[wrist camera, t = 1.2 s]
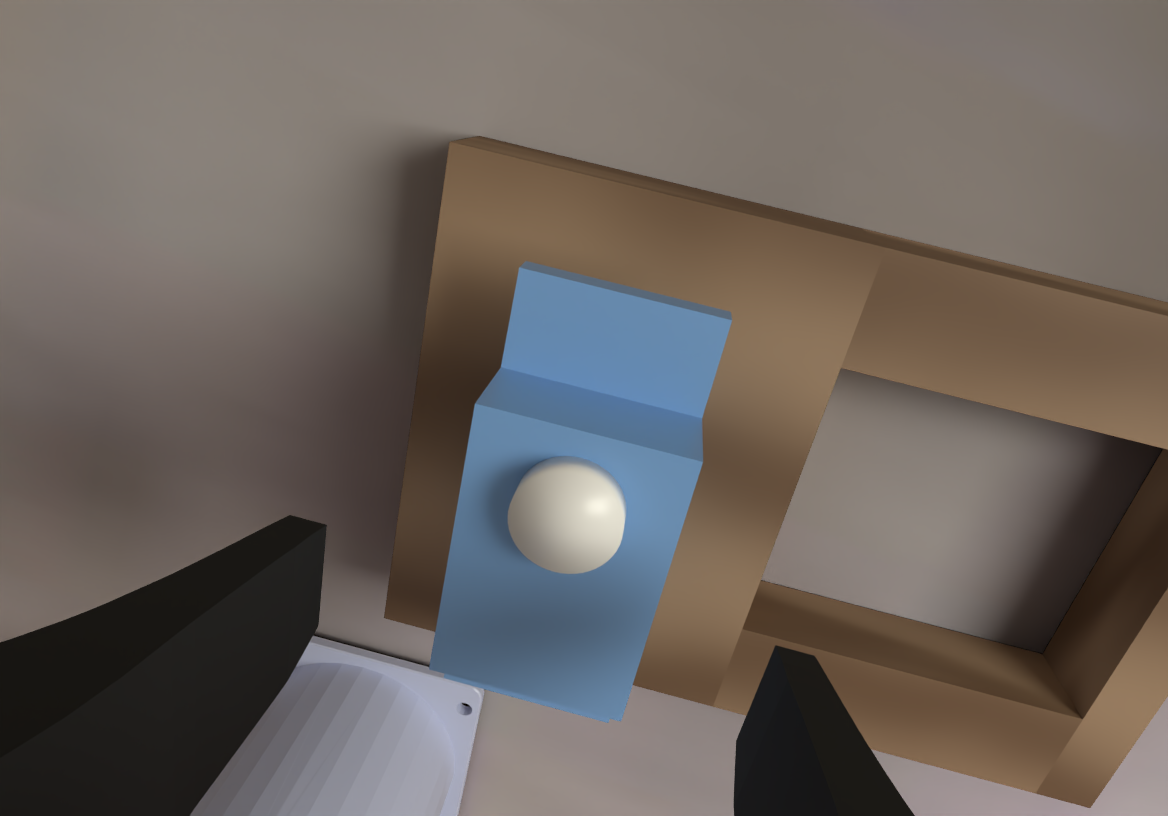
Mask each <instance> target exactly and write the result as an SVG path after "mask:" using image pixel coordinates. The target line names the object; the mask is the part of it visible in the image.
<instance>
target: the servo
mask: <svg viewBox="0 0 1168 816" xmlns="http://www.w3.org/2000/svg"><path fill="white" fill-rule="evenodd" d="M731 323H732V316H731V312H730V311H726V310H722V309H718V308H714V307H710V306H706V305H702V304H698V303H694V302H690V301H685V300H681V299H677V298H673V297H669V296H665V295H661V294H657V293H653V292H649V291H645V290H641V289H637V288H633V287H629V286H625V285H621V284H617V283H613V282H609V281H605V280H601V279H597V278H593V277H589V276H585V275H581V274H577V273H573V272H569V271H565V270H561V269H557V268H552V267H548V266H544V265H540V264H536V263H532V262H528V261H525V262H524V263H523V264H522V265H521V266H520V267H519V272H518V277H517V283H516V288H515V293H514V299H513V304H512V310H511V315H510V321H509V326H508V331H507V337H506V342H505V348H504V353H503V359H502V364H501V368H500V369H499V371H498V372H497V373H496V375H495V376H494V378H493V379H492V380H491V382H490V383H489V385H488V386H487V387H486V389H485V390H484V392H483V393H482V394H481V396H480V397H479V399H478V400H477V401H476V403H475V406H474V412H473V418H472V424H471V430H470V435H469V441H468V447H467V453H466V458H465V464H464V470H463V476H462V481H461V487H460V493H459V499H458V505H457V510H456V516H455V522H454V528H453V533H452V539H451V545H450V551H449V556H448V562H447V568H446V574H445V580H444V585H443V591H442V597H441V603H440V608H439V614H438V620H437V626H436V631H435V637H434V643H433V649H432V655H431V660H430V666H429V670H433V671H437V672H440V673H444V678H445V679H449V680H452V681H456V682H460V683H463V684H467V685H471V686H474V687H478V688H482V689H485V690H489V691H493V692H497V693H500V694H504V695H508V696H511V697H515V698H519V699H522V700H526V701H530V702H533V703H537V704H541V705H544V706H548V707H552V708H555V709H559V710H563V711H566V712H570V713H574V714H578V715H581V716H585V717H589V718H592V719H596V720H600V721H603V722H607V723H608V722H609V719H613V720H617V721H621V720H622V717H623V714H624V710H625V707H626V704H627V701H628V698H629V695H630V691H631V688H632V685H633V682H634V679H635V676H636V672H637V669H638V666H639V663H640V660H641V657H642V653H643V650H644V647H645V644H646V641H647V638H648V635H649V631H650V628H651V625H652V622H653V619H654V616H655V612H656V609H657V606H658V603H659V600H660V597H661V593H662V590H663V587H664V584H665V581H666V578H667V574H668V571H669V568H670V565H671V562H672V559H673V555H674V552H675V549H676V546H677V543H678V540H679V537H680V533H681V530H682V527H683V524H684V521H685V518H686V514H687V511H688V508H689V505H690V502H691V499H692V495H693V492H694V489H695V486H696V483H697V480H698V476H699V473H700V470H701V467H702V464H703V436H702V417H703V414H704V410H705V407H706V404H707V401H708V397H709V394H710V391H711V388H712V384H713V381H714V378H715V375H716V371H717V368H718V365H719V362H720V358H721V355H722V352H723V349H724V345H725V342H726V339H727V336H728V332H729V329H730V326H731Z"/></svg>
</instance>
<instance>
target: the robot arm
mask: <svg viewBox="0 0 1168 816" xmlns="http://www.w3.org/2000/svg"><path fill="white" fill-rule="evenodd" d="M326 527H327V525H325V524H321V523H317V522H314V521H310V520H306V519H302V518H299V517H295V516H291V515H289V516H287V517H285V518H283V519H281V520H279V521H277V522H275V523H273V524H271V525H269V526H267V527H265V528H263V529H261V530H259V531H257V532H255V533H253V534H251V535H249V536H247V537H245V538H243V539H241V540H239V541H238V542H236V543H234V544H232V545H230V546H228V547H226V548H224V549H222V550H220V551H218V552H216V553H214V554H212V555H210V556H208V557H206V558H204V559H202V560H200V561H198V562H196V563H194V564H192V565H190V566H188V567H185V568H183V569H181V570H179V571H177V572H175V573H173V574H171V575H169V576H167V577H165V578H162V579H160V580H158V581H156V582H153V583H151V584H149V585H147V586H144V587H142V588H140V589H138V590H135V591H133V592H131V593H129V594H126V595H124V596H122V597H120V598H117V599H115V600H113V601H110V602H108V603H106V604H104V605H101V606H99V607H96V608H94V609H92V610H89V611H87V612H84V613H81V614H79V615H76V616H74V617H71V618H69V619H66V620H63V621H61V622H58V623H55V624H52V625H49V626H47V627H44V628H41V629H38V630H36V631H33V632H30V633H27V634H24V635H22V636H19V637H16V638H13V639H10V640H7V641H4V642H0V816H458V813H459V809H460V804H461V799H462V795H463V790H464V786H465V781H466V776H467V772H468V767H469V762H470V758H471V753H472V748H473V744H474V739H475V734H476V730H477V725H478V720H479V716H480V711H481V706H482V702H483V697H484V689H482V688H478V687H474V686H471V685H467V684H463V683H460V682H456V681H452V680H449V679H445V678H444V673H440V672H437V671H433V670H429V667H427V666H423V665H420V664H416V663H412V662H408V661H405V660H401V659H397V658H394V657H390V656H386V655H383V654H379V653H375V652H372V651H368V650H364V649H361V648H357V647H353V646H349V645H346V644H342V643H338V642H335V641H331V640H327V639H324V638H320V637H316V636H313V635H314V633H315V631H316V629H317V627H318V623H319V611H320V599H321V587H322V575H323V563H324V551H325V539H326ZM462 703H466V704H468V705H470V707H469V706H465V705H463V704H462ZM734 816H915V815H914V814H913V813H912V811H911V810H910V808H909V807H908V806H907V804H906V803H905V801H904V800H903V798H902V797H901V795H900V794H899V792H898V791H897V789H896V788H895V786H894V785H893V783H892V782H891V780H890V779H889V777H888V776H887V774H886V773H885V771H884V770H883V768H882V766H881V765H880V763H879V762H878V760H877V759H876V757H875V755H874V754H873V752H872V751H871V749H870V747H869V746H868V744H867V743H866V741H865V739H864V738H863V736H862V734H861V733H860V731H859V730H858V728H857V726H856V725H855V723H854V721H853V719H852V718H851V716H850V714H849V713H848V711H847V709H846V708H845V706H844V704H843V703H842V701H841V699H840V697H839V696H838V694H837V692H836V691H835V689H834V687H833V686H832V684H831V682H830V680H829V679H828V677H827V675H826V674H825V672H824V670H823V668H822V667H821V665H820V663H819V662H818V660H817V658H816V657H815V656H814V655H810V654H807V653H803V652H799V651H796V650H792V649H788V648H784V647H781V646H777V645H775V647H774V650H773V652H772V655H771V657H770V660H769V662H768V665H767V667H766V669H765V672H764V674H763V677H762V679H761V682H760V684H759V687H758V689H757V691H756V694H755V696H754V699H753V701H752V704H751V706H750V709H749V711H748V713H747V716H746V718H745V721H744V723H743V726H742V728H741V730H740V733H739V735H738V738H737V740H736V759H735V781H734Z"/></svg>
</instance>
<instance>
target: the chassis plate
mask: <svg viewBox="0 0 1168 816" xmlns="http://www.w3.org/2000/svg"><path fill="white" fill-rule="evenodd" d="M525 261H528V262H532V263H536V264H540V265H544V266H548V267H552V268H557V269H561V270H565V271H569V272H573V273H577V274H581V275H585V276H589V277H593V278H597V279H601V280H605V281H609V282H613V283H617V284H621V285H625V286H629V287H633V288H637V289H641V290H645V291H649V292H653V293H657V294H661V295H665V296H669V297H673V298H677V299H681V300H685V301H690V302H694V303H698V304H702V305H706V306H710V307H714V308H718V309H722V310H726V311H730V312H731V316H732V323H731V326H730V329H729V332H728V336H727V339H726V342H725V345H724V349H723V352H722V355H721V358H720V362H719V365H718V368H717V371H716V375H715V378H714V381H713V384H712V388H711V391H710V394H709V397H708V401H707V404H706V407H705V410H704V414H703V417H702V436H703V464H702V467H701V470H700V473H699V476H698V480H697V483H696V486H695V489H694V492H693V495H692V499H691V502H690V505H689V508H688V511H687V514H686V518H685V521H684V524H683V527H682V530H681V533H680V537H679V540H678V543H677V546H676V549H675V552H674V555H673V559H672V562H671V565H670V568H669V571H668V574H667V578H666V581H665V584H664V587H663V590H662V593H661V597H660V600H659V603H658V606H657V609H656V612H655V616H654V619H653V622H652V625H651V628H650V631H649V635H648V638H647V641H646V644H645V647H644V650H643V653H642V657H641V660H640V663H639V666H638V669H637V672H636V676H635V679H634V682H633V685H635V686H639V687H642V688H646V689H650V690H654V691H657V692H661V693H665V694H668V695H672V696H676V697H680V698H683V699H687V700H691V701H694V702H698V703H702V704H706V705H709V706H713V707H717V708H720V709H724V710H728V711H732V712H735V713H739V714H743V715H746V716H747V713H748V711H749V709H750V706H751V704H752V701H753V699H754V696H755V694H756V691H757V689H758V687H759V684H760V682H761V679H762V677H763V674H764V672H765V669H766V667H767V665H768V662H769V660H770V657H771V655H772V652H773V650H774V647H775V645H777V646H781V647H784V648H788V649H792V650H796V651H799V652H803V653H807V654H810V655H814V656H815V657H816V658H817V660H818V662H819V663H820V665H821V667H822V668H823V670H824V672H825V674H826V675H827V677H828V679H829V680H830V682H831V684H832V686H833V687H834V689H835V691H836V692H837V694H838V696H839V697H840V699H841V701H842V703H843V704H844V706H845V708H846V709H847V711H848V713H849V714H850V716H851V718H852V719H853V721H854V723H855V725H856V726H857V728H858V730H859V731H860V733H861V734H862V736H863V738H864V739H865V741H866V743H867V744H868V746H869V747H870V749H873V750H876V751H880V752H884V753H888V754H891V755H895V756H899V757H902V758H906V759H910V760H914V761H917V762H921V763H925V764H928V765H932V766H936V767H940V768H943V769H947V770H951V771H954V772H958V773H962V774H966V775H969V776H973V777H977V778H980V779H984V780H988V781H992V782H995V783H999V784H1003V785H1006V786H1010V787H1014V788H1018V789H1021V790H1025V791H1029V792H1032V793H1036V794H1040V795H1044V796H1047V797H1051V798H1055V799H1058V800H1062V801H1066V802H1070V803H1073V804H1077V805H1081V806H1084V807H1088V808H1091V806H1092V805H1093V803H1094V802H1095V800H1096V799H1097V798H1098V796H1099V795H1100V793H1101V792H1102V790H1103V789H1104V787H1105V786H1106V785H1107V783H1108V782H1109V780H1110V779H1111V777H1112V776H1113V774H1114V773H1115V772H1116V770H1117V769H1118V767H1119V766H1120V764H1121V763H1122V761H1123V760H1124V759H1125V757H1126V756H1127V754H1128V753H1129V751H1130V750H1131V748H1132V747H1133V746H1134V744H1135V743H1136V741H1137V740H1138V738H1139V737H1140V735H1141V734H1142V733H1143V731H1144V730H1145V728H1146V727H1147V725H1148V724H1149V722H1150V721H1151V720H1152V718H1153V717H1154V715H1155V714H1156V712H1157V711H1158V709H1159V708H1160V707H1161V705H1162V704H1163V702H1164V701H1165V699H1166V698H1167V696H1168V303H1167V302H1163V301H1159V300H1155V299H1151V298H1147V297H1143V296H1139V295H1134V294H1130V293H1126V292H1122V291H1118V290H1114V289H1110V288H1106V287H1101V286H1097V285H1093V284H1089V283H1085V282H1081V281H1077V280H1072V279H1068V278H1064V277H1060V276H1056V275H1052V274H1048V273H1044V272H1039V271H1035V270H1031V269H1027V268H1023V267H1019V266H1015V265H1011V264H1006V263H1002V262H998V261H994V260H990V259H986V258H982V257H977V256H973V255H969V254H965V253H961V252H957V251H953V250H949V249H944V248H940V247H936V246H932V245H928V244H924V243H920V242H915V241H911V240H907V239H903V238H899V237H895V236H891V235H887V234H882V233H878V232H874V231H870V230H866V229H862V228H858V227H854V226H849V225H845V224H841V223H837V222H833V221H829V220H825V219H820V218H816V217H812V216H808V215H804V214H800V213H796V212H792V211H787V210H783V209H779V208H775V207H771V206H767V205H763V204H759V203H754V202H750V201H746V200H742V199H738V198H734V197H730V196H725V195H721V194H717V193H713V192H709V191H705V190H701V189H697V188H692V187H688V186H684V185H680V184H676V183H672V182H668V181H664V180H659V179H655V178H651V177H647V176H643V175H639V174H635V173H630V172H626V171H622V170H618V169H614V168H610V167H606V166H602V165H597V164H593V163H589V162H585V161H581V160H577V159H573V158H569V157H564V156H560V155H556V154H552V153H548V152H544V151H540V150H535V149H531V148H527V147H523V146H519V145H515V144H511V143H507V142H502V141H498V140H494V139H490V138H486V137H482V136H477V137H472V138H467V139H461V140H456V141H451V142H450V143H449V150H448V157H447V164H446V172H445V179H444V186H443V193H442V201H441V208H440V215H439V222H438V230H437V237H436V244H435V252H434V259H433V266H432V273H431V281H430V288H429V295H428V302H427V310H426V317H425V324H424V331H423V339H422V346H421V353H420V360H419V368H418V375H417V382H416V390H415V397H414V404H413V411H412V419H411V426H410V433H409V440H408V448H407V455H406V462H405V469H404V477H403V484H402V491H401V498H400V506H399V513H398V520H397V528H396V535H395V542H394V549H393V557H392V564H391V571H390V578H389V586H388V593H387V600H386V607H385V615H384V618H386V619H390V620H393V621H397V622H401V623H405V624H408V625H412V626H416V627H419V628H423V629H427V630H431V631H434V632H435V631H436V626H437V620H438V614H439V608H440V603H441V597H442V591H443V585H444V580H445V574H446V568H447V562H448V556H449V551H450V545H451V539H452V533H453V528H454V522H455V516H456V510H457V505H458V499H459V493H460V487H461V481H462V476H463V470H464V464H465V458H466V453H467V447H468V441H469V435H470V430H471V424H472V418H473V412H474V406H475V403H476V401H477V400H478V399H479V397H480V396H481V394H482V393H483V392H484V390H485V389H486V387H487V386H488V385H489V383H490V382H491V380H492V379H493V378H494V376H495V375H496V373H497V372H498V371H499V369H500V368H501V364H502V359H503V353H504V348H505V342H506V337H507V331H508V326H509V321H510V315H511V310H512V304H513V299H514V293H515V288H516V283H517V277H518V272H519V267H520V266H521V265H522V264H523V263H524V262H525ZM841 368H843V369H847V370H851V371H855V372H859V373H863V374H867V375H871V376H875V377H879V378H883V379H887V380H891V381H895V382H899V383H903V384H907V385H911V386H915V387H919V388H923V389H927V390H931V391H935V392H939V393H943V394H947V395H951V396H955V397H959V398H963V399H967V400H971V401H975V402H979V403H983V404H987V405H991V406H995V407H999V408H1003V409H1007V410H1011V411H1015V412H1019V413H1023V414H1027V415H1031V416H1035V417H1039V418H1043V419H1047V420H1051V421H1055V422H1059V423H1063V424H1067V425H1071V426H1075V427H1079V428H1083V429H1087V430H1092V431H1096V432H1100V433H1104V434H1108V435H1112V436H1116V437H1120V438H1124V439H1128V440H1132V441H1136V442H1140V443H1144V444H1148V445H1152V446H1156V447H1160V448H1164V449H1163V450H1162V452H1161V454H1160V455H1159V457H1158V459H1157V460H1156V462H1155V464H1154V466H1153V467H1152V469H1151V471H1150V472H1149V474H1148V476H1147V477H1146V479H1145V481H1144V483H1143V484H1142V486H1141V488H1140V489H1139V491H1138V493H1137V494H1136V496H1135V498H1134V500H1133V501H1132V503H1131V505H1130V506H1129V508H1128V510H1127V511H1126V513H1125V515H1124V517H1123V518H1122V520H1121V522H1120V523H1119V525H1118V527H1117V528H1116V530H1115V532H1114V534H1113V535H1112V537H1111V539H1110V540H1109V542H1108V544H1107V545H1106V547H1105V549H1104V551H1103V552H1102V554H1101V556H1100V557H1099V559H1098V561H1097V562H1096V564H1095V566H1094V568H1093V569H1092V571H1091V573H1090V574H1089V576H1088V578H1087V579H1086V581H1085V583H1084V585H1083V586H1082V588H1081V590H1080V591H1079V593H1078V595H1077V596H1076V598H1075V600H1074V602H1073V603H1072V605H1071V607H1070V608H1069V610H1068V612H1067V613H1066V615H1065V617H1064V619H1063V620H1062V622H1061V624H1060V625H1059V627H1058V629H1057V630H1056V632H1055V634H1054V636H1053V637H1052V639H1051V641H1050V642H1049V644H1048V646H1047V647H1046V649H1045V651H1044V653H1043V654H1040V653H1036V652H1032V651H1028V650H1024V649H1021V648H1017V647H1013V646H1009V645H1005V644H1001V643H998V642H994V641H990V640H986V639H982V638H979V637H975V636H971V635H967V634H963V633H959V632H956V631H952V630H948V629H944V628H940V627H937V626H933V625H929V624H925V623H921V622H917V621H914V620H910V619H906V618H902V617H898V616H895V615H891V614H887V613H883V612H879V611H875V610H872V609H868V608H864V607H860V606H856V605H853V604H849V603H845V602H841V601H837V600H833V599H830V598H826V597H822V596H818V595H814V594H811V593H807V592H803V591H799V590H795V589H791V588H788V587H784V586H780V585H776V584H772V583H769V582H765V581H761V578H762V575H763V573H764V570H765V567H766V565H767V562H768V559H769V557H770V554H771V551H772V549H773V546H774V544H775V541H776V538H777V536H778V533H779V530H780V528H781V525H782V522H783V520H784V517H785V514H786V512H787V509H788V506H789V504H790V501H791V499H792V496H793V493H794V491H795V488H796V485H797V483H798V480H799V477H800V475H801V472H802V469H803V467H804V464H805V461H806V459H807V456H808V454H809V451H810V448H811V446H812V443H813V440H814V438H815V435H816V432H817V430H818V427H819V424H820V422H821V419H822V416H823V414H824V411H825V409H826V406H827V403H828V401H829V398H830V395H831V393H832V390H833V387H834V385H835V382H836V379H837V377H838V374H839V371H840V369H841Z"/></svg>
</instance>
